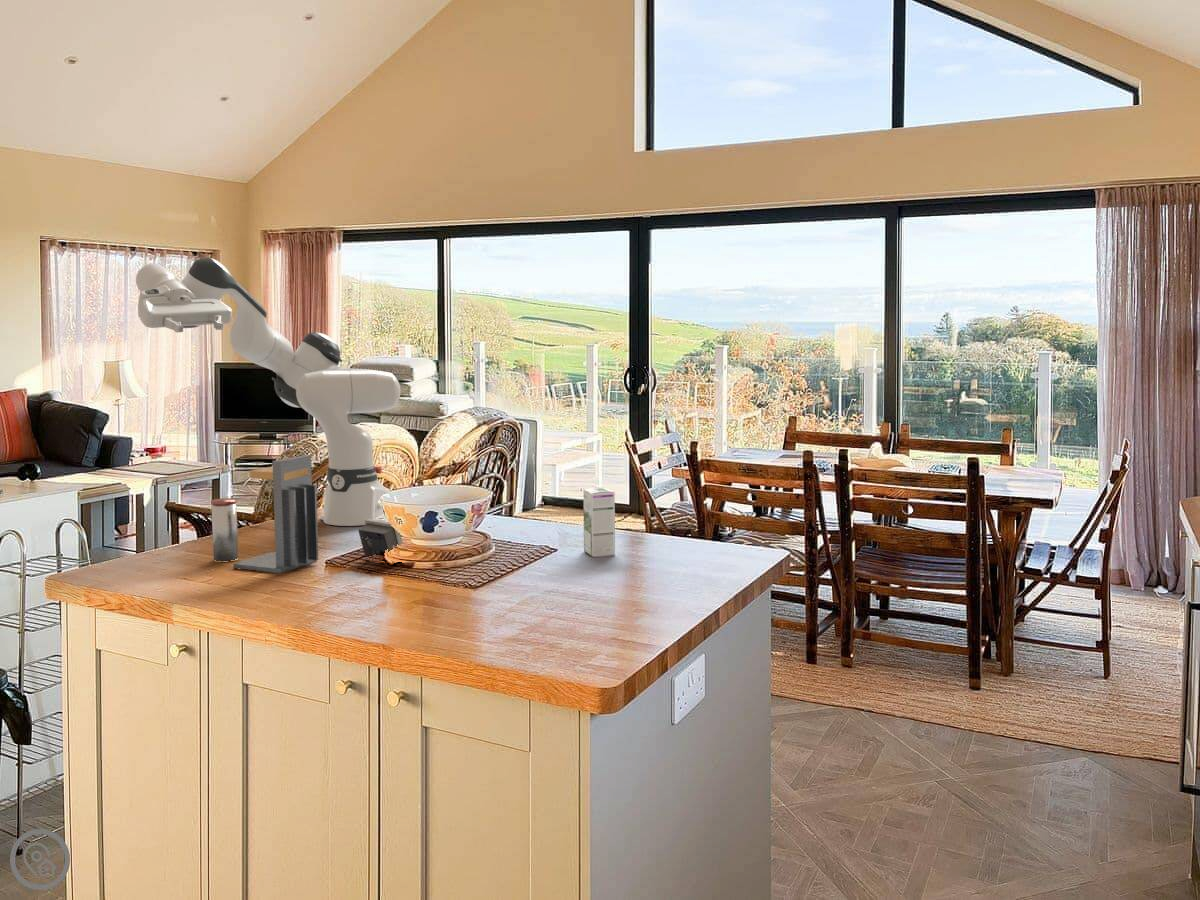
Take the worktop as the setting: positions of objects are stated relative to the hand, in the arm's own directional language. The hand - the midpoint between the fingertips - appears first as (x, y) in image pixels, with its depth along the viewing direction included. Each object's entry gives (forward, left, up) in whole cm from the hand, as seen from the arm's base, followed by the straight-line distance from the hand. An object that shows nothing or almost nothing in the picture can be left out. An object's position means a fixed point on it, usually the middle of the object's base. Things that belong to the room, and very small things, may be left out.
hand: (200, 328), depth 233 cm
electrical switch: (+5, +51, -50) cm, 71 cm away
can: (+15, +18, -50) cm, 55 cm away
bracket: (+15, +31, -50) cm, 60 cm away
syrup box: (-20, +91, -50) cm, 106 cm away
